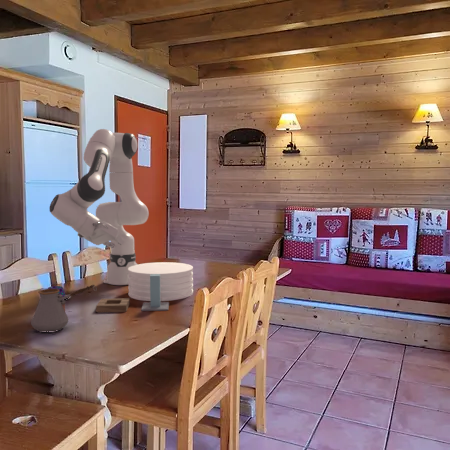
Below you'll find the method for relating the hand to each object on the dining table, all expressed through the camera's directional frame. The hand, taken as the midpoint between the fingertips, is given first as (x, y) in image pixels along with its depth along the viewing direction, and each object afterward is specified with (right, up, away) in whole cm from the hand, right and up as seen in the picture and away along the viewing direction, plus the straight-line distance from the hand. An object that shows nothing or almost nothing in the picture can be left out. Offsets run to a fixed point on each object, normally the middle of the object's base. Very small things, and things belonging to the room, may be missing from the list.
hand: (118, 245), depth 182 cm
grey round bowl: (-28, -23, +8) cm, 37 cm away
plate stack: (+14, -22, +18) cm, 32 cm away
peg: (+16, -23, -5) cm, 28 cm away
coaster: (+16, -24, -5) cm, 29 cm away
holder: (0, -24, -6) cm, 25 cm away
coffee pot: (-10, -26, -32) cm, 43 cm away
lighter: (-16, -26, -24) cm, 38 cm away
